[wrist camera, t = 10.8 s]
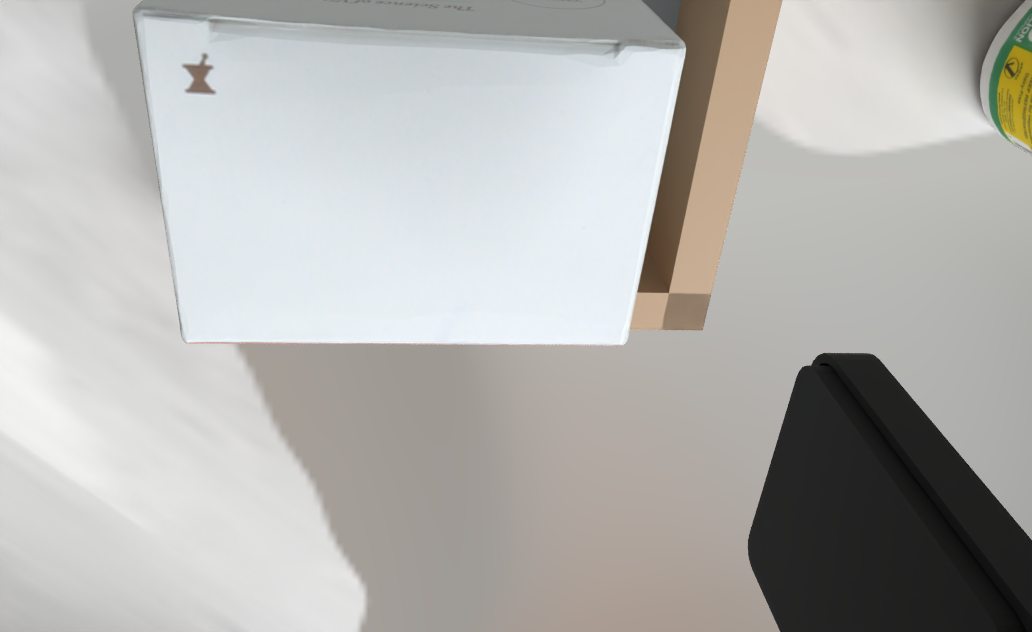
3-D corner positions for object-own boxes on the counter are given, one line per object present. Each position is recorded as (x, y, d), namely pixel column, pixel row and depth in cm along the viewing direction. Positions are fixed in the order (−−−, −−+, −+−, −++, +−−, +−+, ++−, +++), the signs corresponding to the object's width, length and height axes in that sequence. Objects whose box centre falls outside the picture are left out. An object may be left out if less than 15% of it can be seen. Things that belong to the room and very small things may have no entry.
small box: (257, 125, 23) (165, 351, 14) (241, -104, 20) (111, 4, 11) (551, 140, 24) (632, 358, 15) (577, -75, 21) (696, 44, 12)
